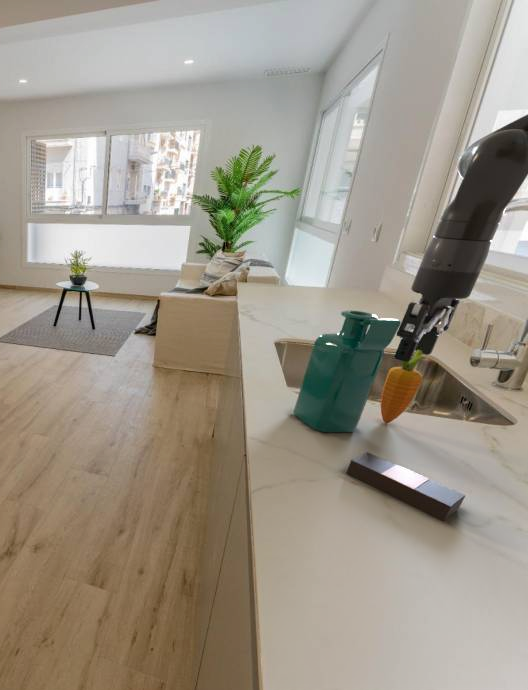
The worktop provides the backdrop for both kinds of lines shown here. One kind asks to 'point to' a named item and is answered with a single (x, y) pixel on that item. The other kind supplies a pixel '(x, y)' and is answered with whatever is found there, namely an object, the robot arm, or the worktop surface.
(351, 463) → the snack bar
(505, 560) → the worktop surface
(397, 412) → the carrot
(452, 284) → the robot arm
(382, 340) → the pitcher
